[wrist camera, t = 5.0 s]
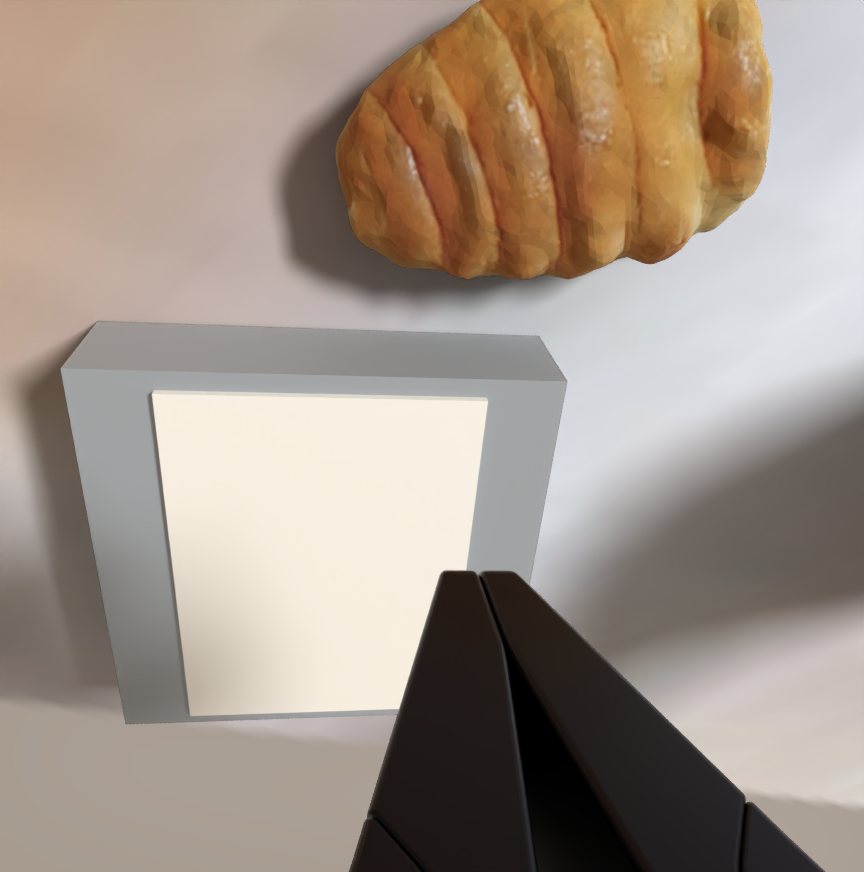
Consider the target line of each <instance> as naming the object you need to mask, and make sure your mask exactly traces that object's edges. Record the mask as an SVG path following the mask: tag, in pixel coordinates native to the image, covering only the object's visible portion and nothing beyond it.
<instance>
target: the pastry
mask: <svg viewBox="0 0 864 872" xmlns="http://www.w3.org/2000/svg"><path fill="white" fill-rule="evenodd" d="M762 29H763V25H762V22H761V18H760V15H759V11H758V8H757V5H756V3H755V0H481V1H479V2H477V3H476V4H474V5H472V6H471V7H470V8H468V9H467V10H466V11H465V12H464V13H463V14H462V15H461V16H459V17H458V18H457V19H456V20H455V21H453V22H452V23H451V24H450V25H448V26H447V27H445V28H443V29H442V30H440V31H438V32H436V33H434V34H432V35H431V36H430V37H429V38H428V39H427V40H426V41H424V42H422V43H420V44H418V45H416V46H414V47H413V48H411V49H410V50H409V51H408V52H406V53H405V54H404V55H403V56H402V57H400V58H399V59H398V60H397V61H395V62H394V63H393V64H392V65H390V66H389V67H388V68H386V69H385V70H384V71H383V72H382V73H381V74H380V75H379V76H378V77H377V78H376V80H375V81H374V82H373V83H372V84H371V85H369V86H368V87H367V88H366V89H365V90H364V92H363V94H362V96H361V98H360V100H359V103H358V106H357V107H356V109H355V110H354V111H353V113H352V114H351V116H350V117H349V119H348V121H347V123H346V125H345V127H344V129H343V131H342V133H341V134H340V136H339V138H338V140H337V144H336V151H335V156H336V164H337V169H338V177H339V183H340V186H341V189H342V192H343V195H344V198H345V201H346V206H347V211H348V217H349V221H350V225H351V228H352V230H353V232H354V234H355V237H356V238H357V239H358V241H360V242H361V243H362V244H364V245H365V246H366V247H368V248H371V249H373V250H375V251H376V252H378V253H379V254H381V255H383V256H385V257H387V258H389V259H390V260H391V261H392V262H393V263H394V264H397V265H399V266H402V267H405V268H424V269H432V270H443V271H445V272H447V273H449V274H451V275H453V276H456V277H460V278H462V279H470V278H473V277H475V276H485V277H486V276H492V275H500V276H503V277H505V278H512V279H531V278H533V277H536V276H539V275H544V274H545V275H552V276H556V277H560V278H565V279H571V278H575V277H578V276H582V275H585V274H587V273H589V272H591V271H593V270H595V269H598V268H601V267H604V266H606V265H607V264H609V263H612V262H613V261H615V260H617V259H620V258H624V257H629V258H631V259H634V260H636V261H639V262H642V263H645V264H654V263H657V262H660V261H662V260H665V259H667V258H669V257H671V256H672V255H674V254H675V253H676V252H678V251H679V250H680V249H681V248H682V247H683V246H684V245H685V244H686V243H687V242H688V240H689V239H690V238H691V236H693V235H694V234H696V233H698V232H708V231H710V230H713V229H715V228H716V227H717V226H719V225H720V224H721V223H722V222H723V221H724V220H726V219H727V217H728V216H730V215H731V214H733V213H734V212H735V211H737V210H738V209H739V208H740V206H741V205H742V204H743V203H744V201H745V200H746V199H748V198H749V197H750V196H751V195H753V194H754V192H755V191H756V189H757V187H758V185H759V183H760V181H761V179H762V177H763V174H764V170H765V167H766V166H765V164H766V152H767V148H768V142H769V132H770V121H771V99H772V76H771V72H770V67H769V63H768V61H767V58H766V55H765V53H764V49H763V45H762Z"/></svg>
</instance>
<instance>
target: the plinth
mask: <svg viewBox="0 0 864 872" xmlns="http://www.w3.org/2000/svg"><path fill="white" fill-rule="evenodd" d="M60 369H61V375H62V380H63V385H64V391H65V396H66V402H67V407H68V413H69V418H70V424H71V429H72V435H73V440H74V446H75V451H76V456H77V462H78V467H79V473H80V478H81V484H82V489H83V495H84V500H85V506H86V511H87V516H88V522H89V527H90V533H91V538H92V544H93V549H94V555H95V560H96V566H97V571H98V577H99V582H100V587H101V593H102V598H103V604H104V609H105V615H106V620H107V626H108V631H109V637H110V642H111V647H112V653H113V658H114V664H115V669H116V675H117V680H118V686H119V691H120V697H121V702H122V708H123V713H124V718H125V724H148V723H176V722H205V721H233V720H261V719H289V718H317V717H345V716H373V715H397V714H398V711H399V708H400V704H401V701H402V698H403V694H404V691H405V688H406V684H407V681H408V678H409V674H410V671H411V668H412V665H413V661H414V658H415V655H416V651H417V648H418V645H419V641H420V638H421V635H422V632H423V628H424V625H425V622H426V618H427V615H428V612H429V608H430V605H431V602H432V599H433V595H434V592H435V589H436V585H437V582H438V579H439V576H440V574H441V572H443V571H444V570H472V571H474V572H476V573H477V574H479V573H480V572H482V571H484V570H505V571H514V572H516V573H517V574H518V575H520V576H521V577H522V578H523V579H524V580H525V581H526V582H527V583H528V584H529V585H530V580H531V574H532V569H533V564H534V558H535V553H536V548H537V542H538V537H539V531H540V526H541V521H542V515H543V510H544V505H545V499H546V494H547V488H548V483H549V478H550V472H551V467H552V461H553V456H554V451H555V445H556V440H557V435H558V429H559V424H560V418H561V413H562V408H563V402H564V397H565V391H566V386H567V380H566V378H565V377H564V375H563V374H562V372H561V370H560V369H559V367H558V366H557V364H556V362H555V361H554V359H553V357H552V356H551V354H550V353H549V351H548V349H547V348H546V346H545V345H544V343H543V341H542V340H541V338H540V336H518V335H488V334H459V333H429V332H399V331H370V330H340V329H311V328H281V327H252V326H222V325H193V324H163V323H133V322H104V321H97V323H96V324H95V325H94V326H93V328H92V329H91V330H90V331H89V333H88V334H87V335H86V337H85V338H84V339H83V340H82V342H81V343H80V344H79V345H78V347H77V348H76V349H75V351H74V352H73V353H72V354H71V356H70V357H69V358H68V359H67V361H66V362H65V363H64V365H63V366H62V367H61V368H60Z"/></svg>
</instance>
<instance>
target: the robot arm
mask: <svg viewBox="0 0 864 872" xmlns="http://www.w3.org/2000/svg"><path fill="white" fill-rule="evenodd" d="M745 801H746V798H745V795H744V794H743V793H742V792H741V791H740V790H739V789H738V788H737V787H736V786H735V785H734V784H733V783H732V782H731V781H730V780H729V779H728V778H727V777H726V776H725V775H724V774H723V773H722V772H721V771H720V770H719V769H718V768H717V767H716V766H715V765H713V764H712V763H711V762H710V761H709V760H708V759H707V758H706V757H705V756H704V755H703V754H702V753H701V752H700V751H699V750H698V749H697V748H696V747H695V746H694V745H693V744H692V743H691V742H690V741H689V740H688V739H687V738H686V737H685V736H684V735H683V734H682V733H681V732H680V731H679V730H678V729H677V728H676V727H675V726H673V725H672V724H671V723H670V722H669V721H668V720H667V719H666V718H665V717H664V716H663V715H662V714H661V713H660V712H659V711H658V710H657V709H656V708H655V707H654V706H653V705H652V704H651V703H650V702H649V701H648V700H647V699H646V698H645V697H644V696H643V695H642V694H641V693H640V692H639V691H638V690H637V689H636V688H635V687H633V686H632V685H631V684H630V683H629V682H628V681H627V680H626V679H625V678H624V677H623V676H622V675H621V674H620V673H619V672H618V671H617V670H616V669H615V668H614V667H613V666H612V665H611V664H610V663H609V662H608V661H607V660H606V659H605V658H604V657H603V656H602V655H601V654H600V653H599V652H598V651H597V650H596V649H595V648H593V647H592V646H591V645H590V644H589V643H588V642H587V641H586V640H585V639H584V638H583V637H582V636H581V635H580V634H579V633H578V632H577V631H576V630H575V629H574V628H573V627H572V626H571V625H570V624H569V623H568V622H567V621H566V620H565V619H564V618H563V617H562V616H561V615H560V614H559V613H558V612H557V611H556V610H555V609H553V608H552V607H551V606H550V605H549V604H548V603H547V602H546V601H545V600H544V599H543V598H542V597H541V596H540V595H539V594H538V593H537V592H536V591H535V590H534V589H533V588H532V587H531V586H530V585H529V584H528V583H527V582H526V581H525V580H524V579H523V578H522V577H521V576H520V575H518V574H517V573H516V572H514V571H505V570H484V571H482V572H480V573H479V574H477V573H476V572H474V571H472V570H444V571H443V572H441V574H440V576H439V579H438V582H437V585H436V589H435V592H434V595H433V599H432V602H431V605H430V608H429V612H428V615H427V618H426V622H425V625H424V628H423V632H422V635H421V638H420V641H419V645H418V648H417V651H416V655H415V658H414V661H413V665H412V668H411V671H410V674H409V678H408V681H407V684H406V688H405V691H404V694H403V698H402V701H401V704H400V708H399V711H398V714H397V717H396V721H395V724H394V727H393V731H392V734H391V737H390V741H389V744H388V747H387V750H386V754H385V757H384V761H383V764H382V767H381V770H380V774H379V777H378V780H377V783H376V787H375V790H374V793H373V797H372V800H371V803H370V807H369V810H368V814H367V819H366V820H365V822H364V825H363V828H362V831H361V835H360V838H359V841H358V845H357V848H356V851H355V854H354V858H353V861H352V864H351V867H350V870H349V872H825V871H824V870H823V869H822V868H821V867H820V866H819V865H818V864H817V863H815V861H813V860H812V859H811V858H810V857H809V856H808V855H807V854H806V853H805V852H804V851H803V850H802V849H801V848H800V847H799V846H798V845H796V844H795V843H794V842H793V841H792V840H791V839H790V838H789V837H788V836H787V835H786V834H785V833H783V831H781V829H780V828H779V827H778V826H776V825H775V824H774V823H773V822H772V821H771V820H770V819H769V818H768V817H767V816H766V815H765V814H764V813H763V812H762V811H761V810H760V809H759V808H758V807H757V806H756V805H755V804H754V803H752V802H747V803H746V804H745Z"/></svg>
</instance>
